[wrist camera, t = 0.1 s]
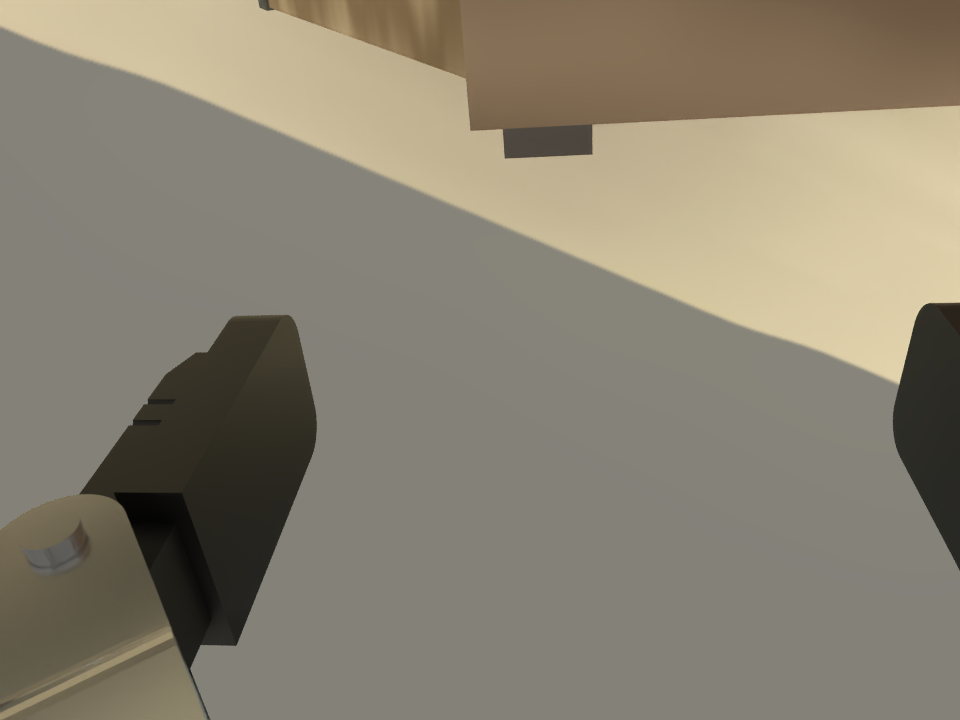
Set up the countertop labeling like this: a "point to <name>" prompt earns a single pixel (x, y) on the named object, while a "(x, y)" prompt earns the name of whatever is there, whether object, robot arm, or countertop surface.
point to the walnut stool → (696, 62)
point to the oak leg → (391, 26)
